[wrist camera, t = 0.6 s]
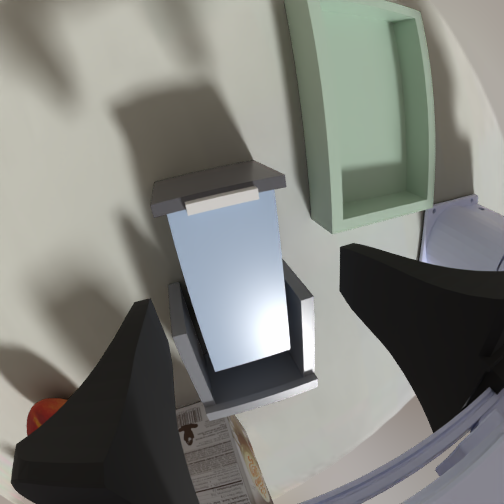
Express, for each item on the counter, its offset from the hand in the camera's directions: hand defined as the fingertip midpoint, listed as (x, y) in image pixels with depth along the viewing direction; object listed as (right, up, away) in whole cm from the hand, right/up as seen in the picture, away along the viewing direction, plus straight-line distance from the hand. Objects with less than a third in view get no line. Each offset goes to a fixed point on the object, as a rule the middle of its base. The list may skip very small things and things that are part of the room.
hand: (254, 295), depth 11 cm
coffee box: (-5, -17, +17) cm, 25 cm away
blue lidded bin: (-2, +2, +9) cm, 10 cm away
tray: (+8, +12, +7) cm, 16 cm away
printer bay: (-1, -3, +12) cm, 12 cm away
